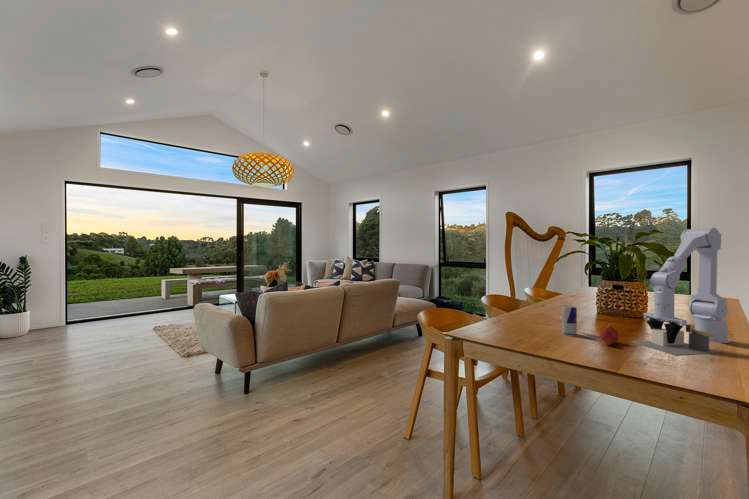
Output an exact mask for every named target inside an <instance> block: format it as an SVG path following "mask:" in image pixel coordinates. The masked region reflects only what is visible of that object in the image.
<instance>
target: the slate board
mask: <svg viewBox="0 0 749 499" xmlns="http://www.w3.org/2000/svg"><path fill="white" fill-rule="evenodd" d="M688 333H689V334H688V343H686V342H684V345H669V346H662V345H658V344H655V343H651V340H650V341H648V340H647V341H646V340H642V341H641V340H637V341H636V340H630V341H629V342H630V343H634V344H637V345H640V346H643V347H647V348H650V349H653V350H656V351H660V352H662V353H666V354H668V355H672V356H676V357H678V356H690V355H691V356H692V355H693V356H694V355H705V354H706V355H707V354H720V353H721V352H720V351H717V350H714V349H710V341H709V337H708V336H704V335H700V334H695V333H690V332H688Z"/></svg>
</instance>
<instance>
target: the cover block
mask: <svg viewBox="0 0 749 499" xmlns="http://www.w3.org/2000/svg"><path fill="white" fill-rule="evenodd" d="M650 330H651V331H650V332H651V334H650V336H651V340H650V341H651V343H655V344H658V345H662V346H669V345H684V343H685V330H680V331H679V332H678V334H677V336H676V339H675V342H674V343H671V344H670V343H668V341H667V332H666V328H662V329H651V328H650Z"/></svg>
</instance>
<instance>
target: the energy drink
mask: <svg viewBox="0 0 749 499" xmlns="http://www.w3.org/2000/svg"><path fill="white" fill-rule="evenodd" d="M577 315H578V308H577V306H574V305H568V304H567V305H566V304H564V305H562V306H561V335H563V336H565V335H566V336H565V337H576V336H577V327H578V326H577V324H578V323H577V322H578V320H577V317H578V316H577Z"/></svg>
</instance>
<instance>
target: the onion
mask: <svg viewBox="0 0 749 499" xmlns="http://www.w3.org/2000/svg"><path fill="white" fill-rule="evenodd" d="M599 336H600V338H601V340H602V341H603V342H604V343H605V344H606V345H607V346H612V345H613V344H615V343H616V342H618V340H619V338H620V335H619V332H618V330H617V328H614V327H613V326H612V324H611V323H609V324H608V325H606V326H604V327H603V328H602V329H601V330H600V335H599Z"/></svg>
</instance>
